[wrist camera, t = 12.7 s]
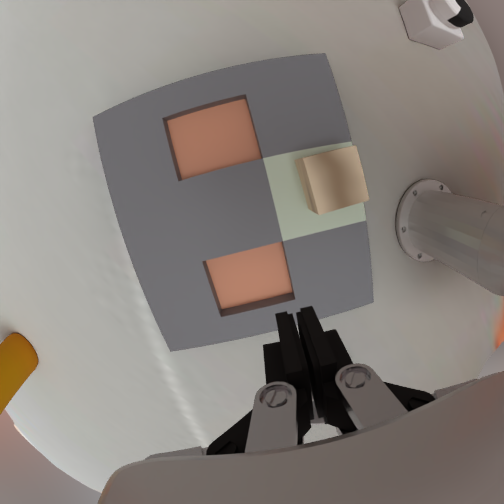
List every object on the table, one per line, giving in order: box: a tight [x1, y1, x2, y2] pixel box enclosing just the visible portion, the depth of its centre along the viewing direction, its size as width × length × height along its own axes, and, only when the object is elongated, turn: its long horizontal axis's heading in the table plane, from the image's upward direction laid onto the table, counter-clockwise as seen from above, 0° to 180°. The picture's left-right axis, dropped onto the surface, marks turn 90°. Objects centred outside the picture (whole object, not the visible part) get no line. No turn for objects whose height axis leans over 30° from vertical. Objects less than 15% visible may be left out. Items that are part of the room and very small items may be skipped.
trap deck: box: [93, 53, 374, 352], centre depth 32 cm, size 30×34×2 cm
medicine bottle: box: [399, 0, 473, 49], centre depth 20 cm, size 7×7×12 cm
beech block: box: [294, 145, 369, 215], centre depth 28 cm, size 6×6×4 cm
